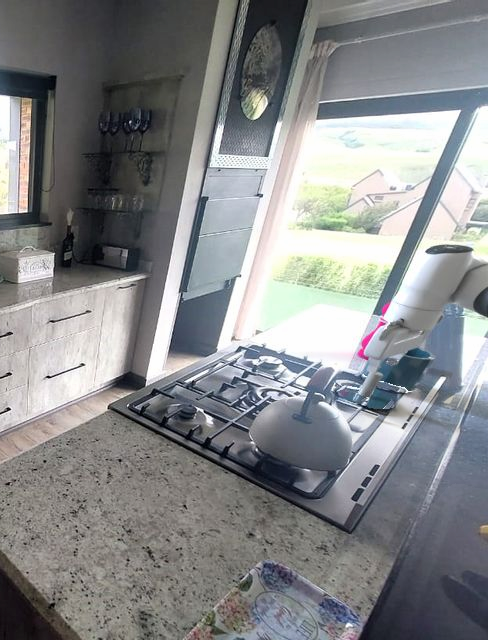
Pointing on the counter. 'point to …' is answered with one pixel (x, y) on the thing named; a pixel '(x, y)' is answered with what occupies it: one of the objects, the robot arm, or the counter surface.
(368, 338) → the pepper mill
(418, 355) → the cup
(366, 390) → the lid
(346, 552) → the counter surface
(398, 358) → the robot arm
